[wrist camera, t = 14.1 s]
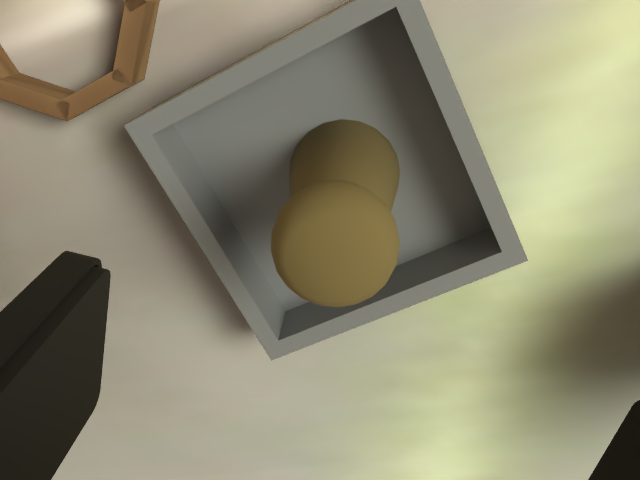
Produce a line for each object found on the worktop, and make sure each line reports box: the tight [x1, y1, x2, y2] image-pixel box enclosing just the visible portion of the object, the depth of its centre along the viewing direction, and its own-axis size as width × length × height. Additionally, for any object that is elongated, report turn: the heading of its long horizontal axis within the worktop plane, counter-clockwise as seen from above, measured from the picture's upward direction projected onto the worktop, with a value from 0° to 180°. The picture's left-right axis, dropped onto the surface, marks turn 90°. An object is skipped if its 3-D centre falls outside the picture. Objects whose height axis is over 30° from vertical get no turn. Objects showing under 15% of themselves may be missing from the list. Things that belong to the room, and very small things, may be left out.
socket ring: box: [0, 0, 160, 121], centre depth 31 cm, size 10×10×2 cm
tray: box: [124, 0, 528, 360], centre depth 32 cm, size 15×15×4 cm
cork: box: [271, 119, 400, 307], centre depth 28 cm, size 6×6×11 cm
